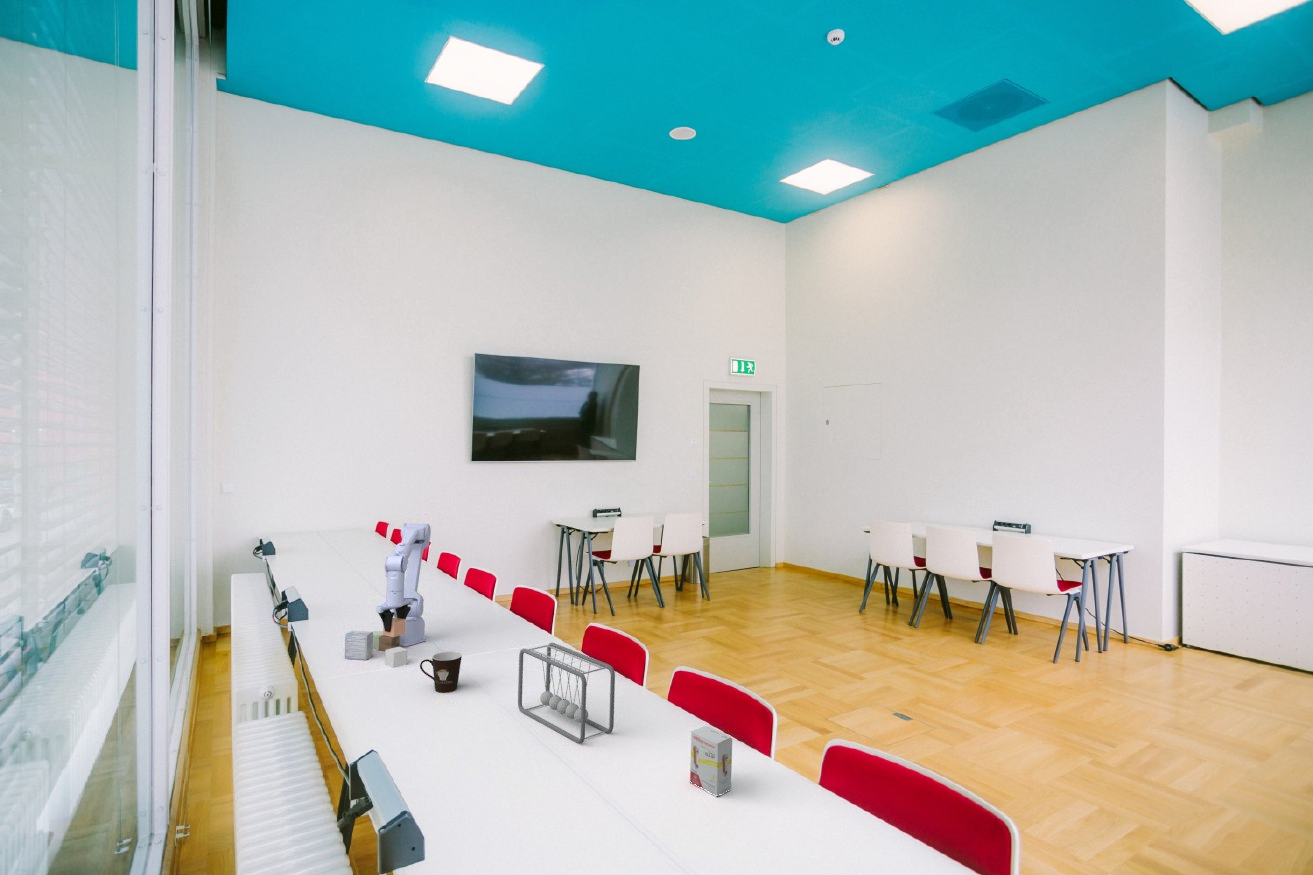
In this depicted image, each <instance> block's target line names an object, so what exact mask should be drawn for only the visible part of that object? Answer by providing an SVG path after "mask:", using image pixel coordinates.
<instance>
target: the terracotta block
mask: <svg viewBox="0 0 1313 875" xmlns="http://www.w3.org/2000/svg"><path fill="white" fill-rule="evenodd" d="M382 625H383V624H382ZM382 631H383V635H385V636H390V637H396V636H399V635H402V634H405V619H401V618H396V617H394V616H393V619H392V627H391V632H386V631H385V629H384V625H383V630H382Z"/></svg>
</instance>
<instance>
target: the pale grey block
mask: <svg viewBox="0 0 1313 875" xmlns="http://www.w3.org/2000/svg"><path fill="white" fill-rule="evenodd" d="M408 651H409V650H408V649H407V648H405V647H403V646H400V647H395V648H391V649H387V650H386V652H385V654H384V655H385V661H384V662H385V663H384V664H385V666H388V667H389V668H391V669H392V668H393V669H396V668H400V667H403V666H407V665H408V654H409V652H408Z"/></svg>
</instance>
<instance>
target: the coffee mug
mask: <svg viewBox="0 0 1313 875" xmlns="http://www.w3.org/2000/svg"><path fill="white" fill-rule="evenodd" d="M462 655H463V654H462V653H460V652H459V651H458V652H457V651H443V652H437V653H434V654H433V655H432V656H431V659H428V658H427V659H424V660H422V661H421V662H420V664H419V668H420V670H421V672H422V673H423V674H424V675H426V676H427V677H428V678H430V679H432V680H433V683H434V691H435V692H437V693H440V694H448V693H453V692H455V691H456V690H457V689H458V685H459V676H460V670H461V663H462V657H463V656H462ZM425 662H429V663H430V664H431V666H432V672H433V676H432V675H431V674H429V673H428V672H426V671H425V670H424V668H423V663H425Z"/></svg>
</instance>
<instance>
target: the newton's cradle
mask: <svg viewBox="0 0 1313 875" xmlns="http://www.w3.org/2000/svg"><path fill="white" fill-rule="evenodd" d="M542 648H543V649H544V648H547V649H546V652H545V653H544V652H542V653H541V652H539V651H538V650H537V649H542ZM553 650H554V652H555V654H554V655H553V656H551V655H552V653H551V652H553ZM557 652H560V653H561V654H559V656H561V655H562V654H563V657H562V659H557V658H555V657H557V656H558V654H557ZM524 653H525V654H526V655H529V656H530V657H532V658H535V659H538V660H540V661H542V663H544V662H545V663H546V669H545V668H544V667H545V666H544V665H542V670H543V672H545V673H546V675H545V673H543V676H544V677H543V679H544V680H545V682H544V686H545V688H544V689H545V691H544V692H542V693H541V694H540V697H539V698H540V699H539V700H540V703H541V704H539V705H535V706H531V707H529V708H528V707H527V708H525V707H524V706H523V680H524V678H523V677H524V673H523V672H524ZM565 655H567V656H570V657H569V659H570V658H571V662H569V663H565V662H564V660H566V659H568V657H567V658H565ZM518 656H519V657H518V682H517V683H518V684H517V685H518V688H517V689H518V690H517V706H518V709H519V711H520V712H521V713H522V714H524V715H526V716H528V717H529V718H531V719H534V721H536V722H538V723H540V724H542V725H544V726H546V727H547V728H549V729H551V730H553V731H555V732H557V733H559V734H561V735H562V736H564V737H565V738H567V739H569V740H571V741H572V742H575V743H577V744H582V743H583V742H584V741H585V740H587V739H590V738H593V737H596V736H599V735H601V734H604V733H605V734H611V733H612V732H613V730H614V721H615V717H614V716H615V687H616V685H615V683H616V682H615V681H616V672H615V669H614V668H613V666H612V665H610V664H608V663H606V662H603V661H601V660H598V659H596V658H594V657H591V656H588V655H585V654H583V653H581V652H578V651H575V650H573V649H571V648H569V647H565V646H562V645H560V644H557V643H555V642H549V643H548V644H546V645H541V646H537V647H532V648H521V649H520V651H519V654H518ZM574 658H575V659H577V661H573V659H574ZM561 660H562V661H561ZM578 662H580V664H579V667H578V666H576V667H575V666H572V665H573V664H574V663H578ZM582 662H584V663H587V664H584V665H583V667H584V666H588V671H584V670H583V669H581V667H582ZM591 665H592V666H594V667H597V669H593V670H590V668H591ZM551 666H552V667H551ZM553 667H556V668H558V673H559V679H558V680H559V681H558V684H560V685H557V691H556V692H557V693H556V692H555V689H553V692H552V691H550V690H551V689H550V688H551V687H550V686H551V681H554V677H553V676H554V675H553V671H554V668H553ZM605 669H607V670H608V671H609V674H610V683H609V685H610V687H609V690H610V691H609V718H608V720H609V722H608V723H609V724H608V726H609V727H608V728H607V727H606V726H603V725H602V724H600V723H597V722H595V721H594V720H591V719H589V712H588V709H587V706H586V705H587V686H588V680H589V674H590V673H593V672H594V673H595V672H597V671H601V670H605ZM562 671H565V672H566V674H567V675H568V676H567V686H566V692H565V695H567V693H568V688H569V691H571V685H570V677H571V674H572V675H574V676H575V680H576V687H575V691H574V692H575V693H574V699H573V702H572V699H570V700H568V699H567V696H565V697H564V695H563V692H561V696H559V695H558V694H559V687H560V689H561V690H563V687H562V684H561V683H562V679H561V677H562V676H561V675H562ZM586 674H587V676H585V675H586ZM586 677H587V679H586ZM579 678H580V680H581V700H580V698H578V702H579V704H580V706H579V705H577V704H576V703H575V700H576V695H577V694H578V697H580V693H579V692H580V691H579V690H578V689H579V686H578V685H579V684H578V683H579V680H578V679H579ZM552 684H553V685H552V688H555V684H554V682H552ZM553 693H554V694H553ZM569 698H572V694H571V692H569ZM543 706H549V708H550V709H552V710H553V711H557V712H558V713H559V714H561V715H566V717H567V718H569V719H571V720H573V719H574V720H575V721H576V723H579V724H580V732H579V734H580V735H579V738H578V737H577V736H576V735H573V734H572V733H570V732H568V731H566V730H564V729H562V728H561V727H559V726H556V725H555V724H553V723H551V722H549V721H547V720H546V719H544V718H542V717H540V716H539V715H537V714H535V713H533V712H531V711H530V710H533V709H536V708H539V707H543ZM586 724H587V725H589V726H592V727H594V728H595V729H597V730H599V731H600V732H597V733H594V734H591V735H588V736H586Z"/></svg>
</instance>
